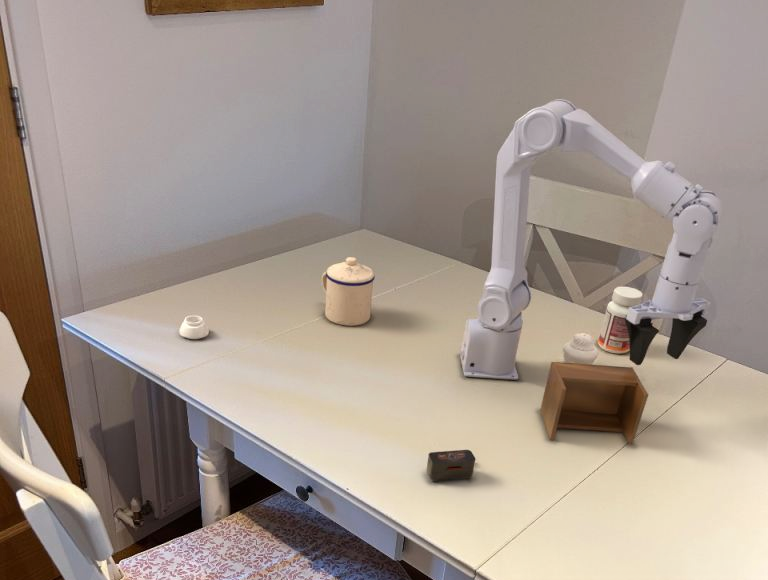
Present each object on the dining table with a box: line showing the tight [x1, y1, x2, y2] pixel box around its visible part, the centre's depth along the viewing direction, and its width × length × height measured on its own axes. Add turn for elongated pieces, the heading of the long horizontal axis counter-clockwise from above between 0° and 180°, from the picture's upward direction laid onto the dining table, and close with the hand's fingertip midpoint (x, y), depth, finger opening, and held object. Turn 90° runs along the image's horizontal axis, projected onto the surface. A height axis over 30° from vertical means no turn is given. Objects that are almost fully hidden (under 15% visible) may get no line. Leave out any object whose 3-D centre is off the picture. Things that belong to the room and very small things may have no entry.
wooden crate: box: [539, 361, 649, 446], centre depth 122 cm, size 9×13×8 cm
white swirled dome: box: [562, 332, 599, 365], centre depth 139 cm, size 6×6×7 cm
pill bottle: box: [597, 286, 643, 354], centre depth 147 cm, size 6×6×11 cm
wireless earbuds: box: [425, 449, 476, 482], centre depth 111 cm, size 5×7×3 cm, turn 105°
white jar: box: [179, 315, 210, 340], centre depth 138 cm, size 5×3×5 cm
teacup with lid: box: [321, 256, 376, 327], centre depth 148 cm, size 12×9×12 cm
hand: (653, 359), depth 124 cm, fingers open, 7 cm apart
